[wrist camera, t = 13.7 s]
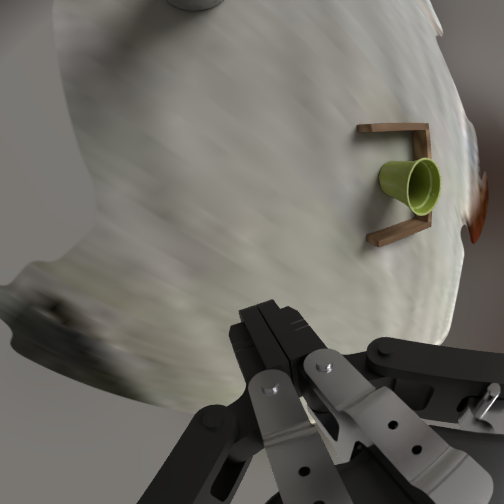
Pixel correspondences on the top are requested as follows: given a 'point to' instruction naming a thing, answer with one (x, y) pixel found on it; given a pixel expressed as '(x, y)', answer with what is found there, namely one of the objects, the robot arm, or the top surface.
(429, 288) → the top surface
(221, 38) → the top surface
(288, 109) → the top surface
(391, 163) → the plant pot
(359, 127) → the wooden u bracket
